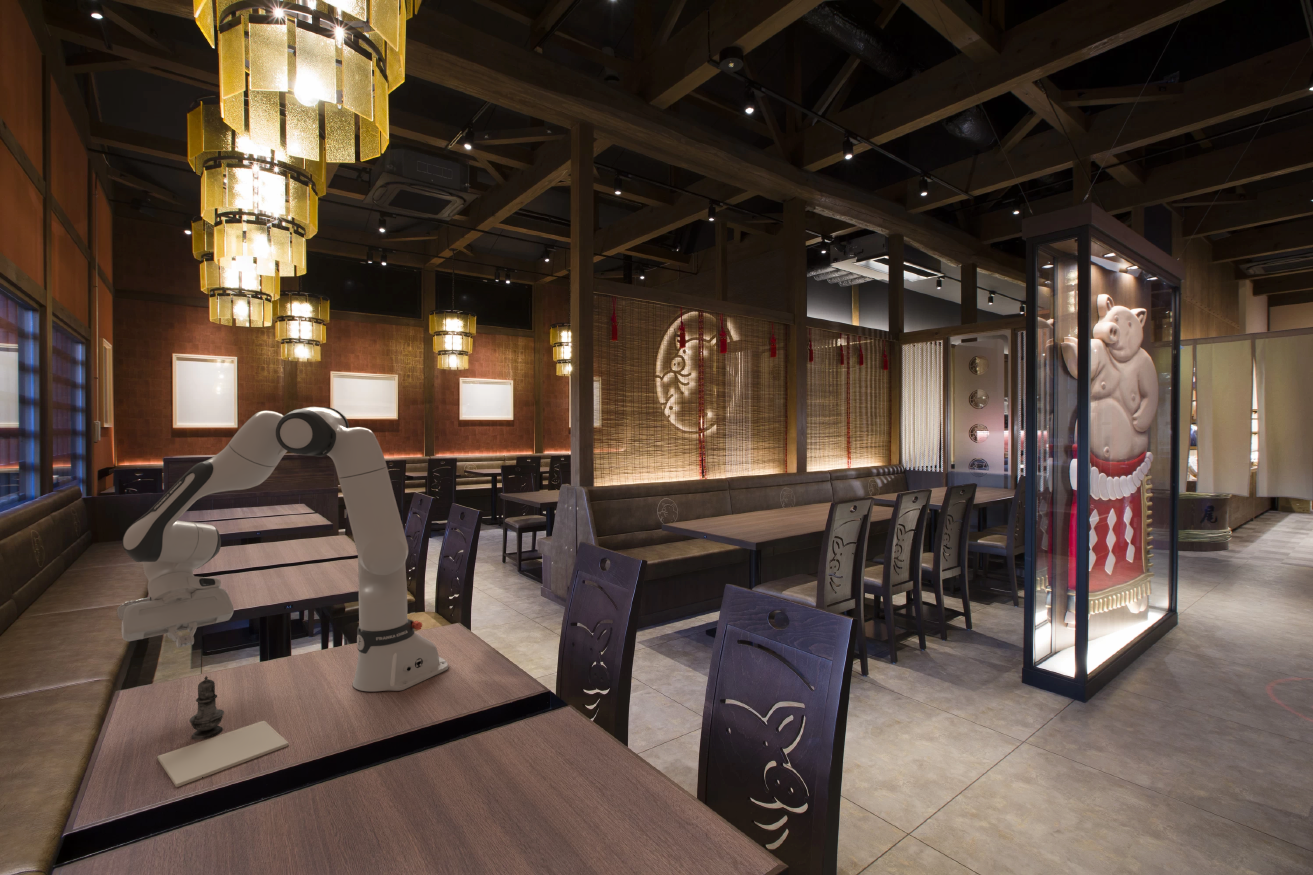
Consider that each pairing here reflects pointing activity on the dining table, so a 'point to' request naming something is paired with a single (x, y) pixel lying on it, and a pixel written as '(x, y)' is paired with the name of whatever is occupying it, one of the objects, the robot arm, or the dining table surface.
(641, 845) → the dining table surface
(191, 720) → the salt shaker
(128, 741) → the dining table surface
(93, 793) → the dining table surface
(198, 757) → the placemat
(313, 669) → the dining table surface
